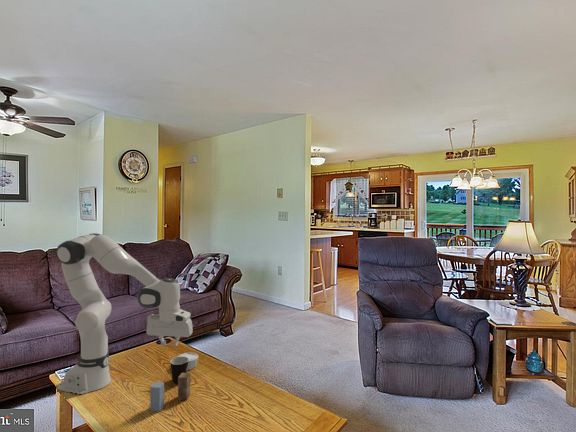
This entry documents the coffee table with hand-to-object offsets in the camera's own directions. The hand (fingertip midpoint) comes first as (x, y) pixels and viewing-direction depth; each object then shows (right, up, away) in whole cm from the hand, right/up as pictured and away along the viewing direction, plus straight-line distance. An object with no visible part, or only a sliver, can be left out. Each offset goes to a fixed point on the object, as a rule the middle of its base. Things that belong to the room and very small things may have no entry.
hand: (169, 345), depth 145 cm
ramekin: (-1, -23, +28) cm, 37 cm away
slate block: (-2, -23, -9) cm, 25 cm away
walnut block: (+7, -23, 0) cm, 24 cm away
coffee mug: (0, -23, +15) cm, 28 cm away
